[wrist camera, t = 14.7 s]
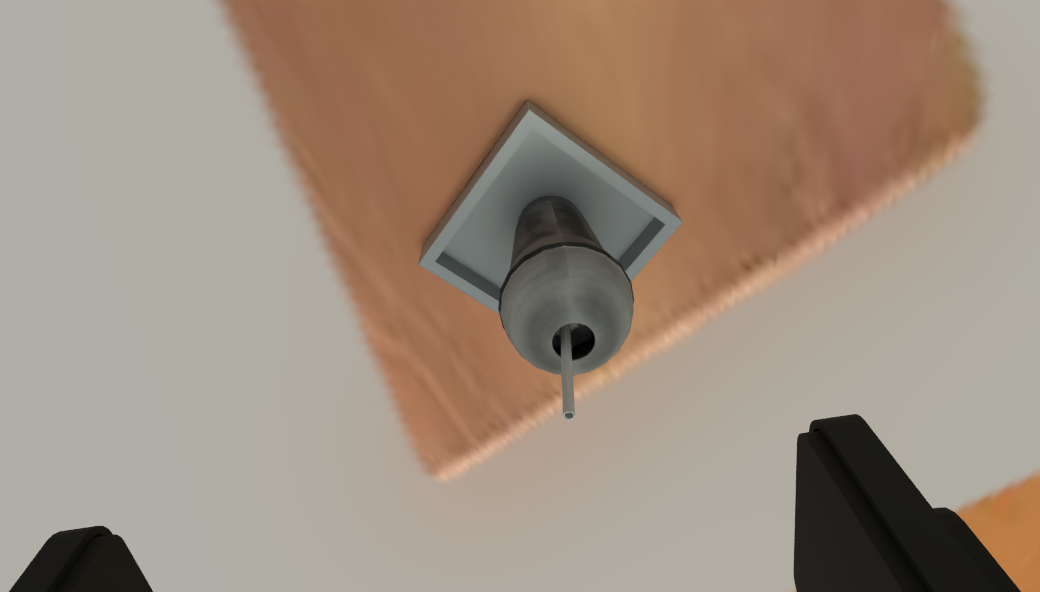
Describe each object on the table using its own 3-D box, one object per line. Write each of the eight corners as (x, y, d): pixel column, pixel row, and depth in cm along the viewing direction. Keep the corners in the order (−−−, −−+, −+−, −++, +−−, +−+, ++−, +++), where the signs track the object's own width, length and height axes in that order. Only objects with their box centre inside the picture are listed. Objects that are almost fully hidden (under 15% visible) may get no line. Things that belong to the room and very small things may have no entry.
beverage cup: (624, 210, 47) (704, 372, 30) (564, 293, 50) (604, 486, 32) (534, 154, 45) (562, 291, 28) (476, 243, 48) (467, 420, 30)
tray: (527, 99, 45) (529, 109, 42) (672, 206, 48) (682, 221, 46) (422, 246, 49) (418, 264, 46) (562, 334, 53) (566, 355, 50)
